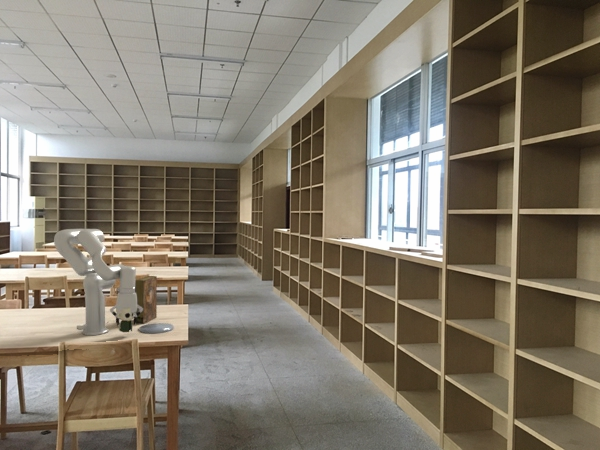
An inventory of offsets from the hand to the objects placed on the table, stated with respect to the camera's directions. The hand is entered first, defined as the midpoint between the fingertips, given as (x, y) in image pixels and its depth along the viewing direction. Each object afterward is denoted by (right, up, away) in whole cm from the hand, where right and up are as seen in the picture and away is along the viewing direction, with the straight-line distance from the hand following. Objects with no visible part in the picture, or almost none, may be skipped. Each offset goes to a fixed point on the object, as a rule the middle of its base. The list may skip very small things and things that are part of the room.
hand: (126, 324), depth 245 cm
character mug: (0, -4, 0) cm, 4 cm away
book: (-1, -5, +34) cm, 34 cm away
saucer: (+11, -6, +15) cm, 20 cm away
